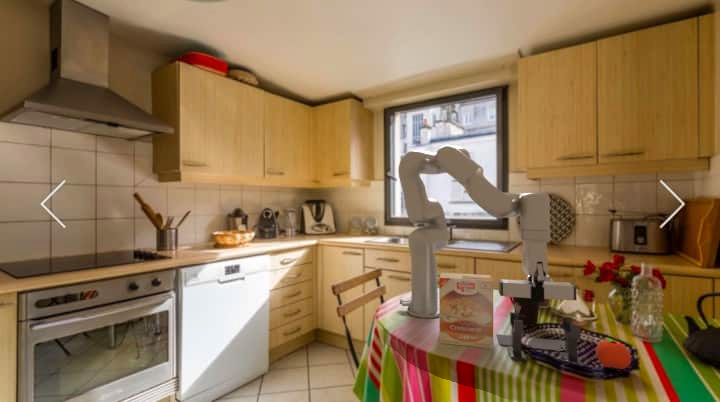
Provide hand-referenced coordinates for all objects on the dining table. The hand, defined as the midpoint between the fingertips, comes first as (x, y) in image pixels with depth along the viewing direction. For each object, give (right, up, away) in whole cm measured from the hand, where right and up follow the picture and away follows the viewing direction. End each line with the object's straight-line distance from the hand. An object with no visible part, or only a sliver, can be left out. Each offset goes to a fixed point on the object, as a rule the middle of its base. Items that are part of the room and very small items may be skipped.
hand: (535, 298), depth 94 cm
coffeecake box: (-19, -14, +3) cm, 24 cm away
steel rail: (0, +1, 0) cm, 1 cm away
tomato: (+12, -14, -13) cm, 22 cm away
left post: (-9, -14, -6) cm, 17 cm away
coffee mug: (+6, -13, +18) cm, 23 cm away
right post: (+4, -13, -10) cm, 17 cm away
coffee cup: (+20, -13, +34) cm, 41 cm away
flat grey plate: (0, -13, 0) cm, 13 cm away
